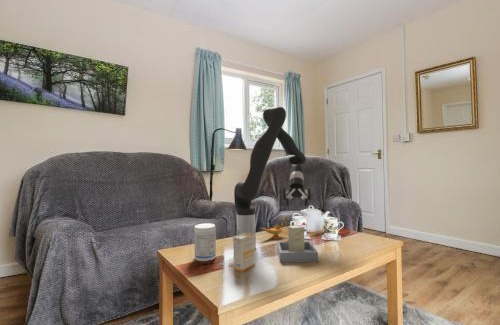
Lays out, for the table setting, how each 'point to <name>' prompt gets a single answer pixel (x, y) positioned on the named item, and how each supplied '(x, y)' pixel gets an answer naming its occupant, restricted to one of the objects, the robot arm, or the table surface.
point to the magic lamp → (275, 230)
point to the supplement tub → (205, 242)
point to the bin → (297, 253)
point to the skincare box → (296, 238)
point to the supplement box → (243, 251)
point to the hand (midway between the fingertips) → (296, 205)
